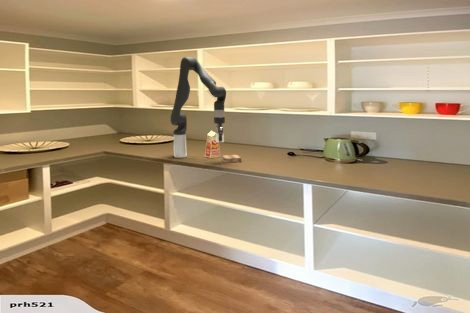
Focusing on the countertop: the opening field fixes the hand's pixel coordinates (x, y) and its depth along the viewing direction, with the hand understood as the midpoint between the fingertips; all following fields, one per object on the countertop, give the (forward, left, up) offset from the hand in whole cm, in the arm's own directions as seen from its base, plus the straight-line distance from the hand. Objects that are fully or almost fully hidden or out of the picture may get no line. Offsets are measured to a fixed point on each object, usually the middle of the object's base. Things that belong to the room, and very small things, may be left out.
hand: (219, 140), depth 264 cm
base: (+9, +4, -15) cm, 18 cm away
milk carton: (-1, +23, -16) cm, 28 cm away
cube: (0, 0, -1) cm, 1 cm away
